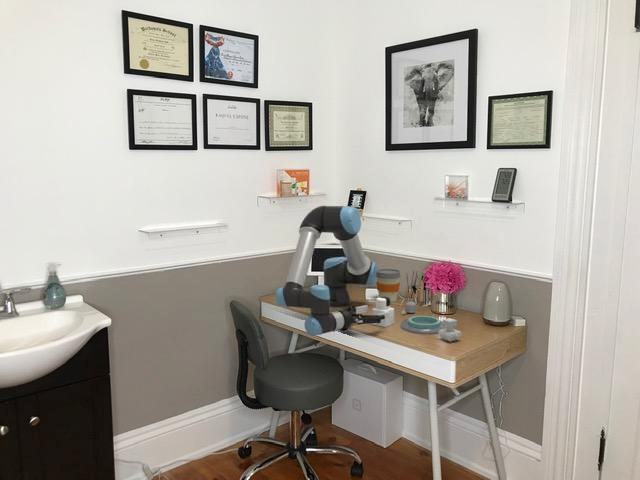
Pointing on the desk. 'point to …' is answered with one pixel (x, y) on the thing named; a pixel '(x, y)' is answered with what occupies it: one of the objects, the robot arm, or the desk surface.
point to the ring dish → (420, 331)
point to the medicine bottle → (383, 307)
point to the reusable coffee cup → (388, 283)
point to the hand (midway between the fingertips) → (377, 311)
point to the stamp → (449, 330)
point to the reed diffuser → (410, 300)
